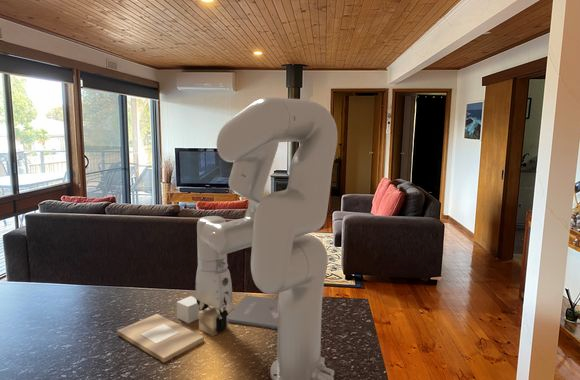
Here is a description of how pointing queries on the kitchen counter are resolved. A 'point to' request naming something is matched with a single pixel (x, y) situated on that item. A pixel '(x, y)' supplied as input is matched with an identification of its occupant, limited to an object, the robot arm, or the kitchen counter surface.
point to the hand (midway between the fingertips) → (213, 326)
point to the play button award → (256, 312)
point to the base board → (160, 337)
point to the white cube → (188, 309)
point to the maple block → (209, 320)
